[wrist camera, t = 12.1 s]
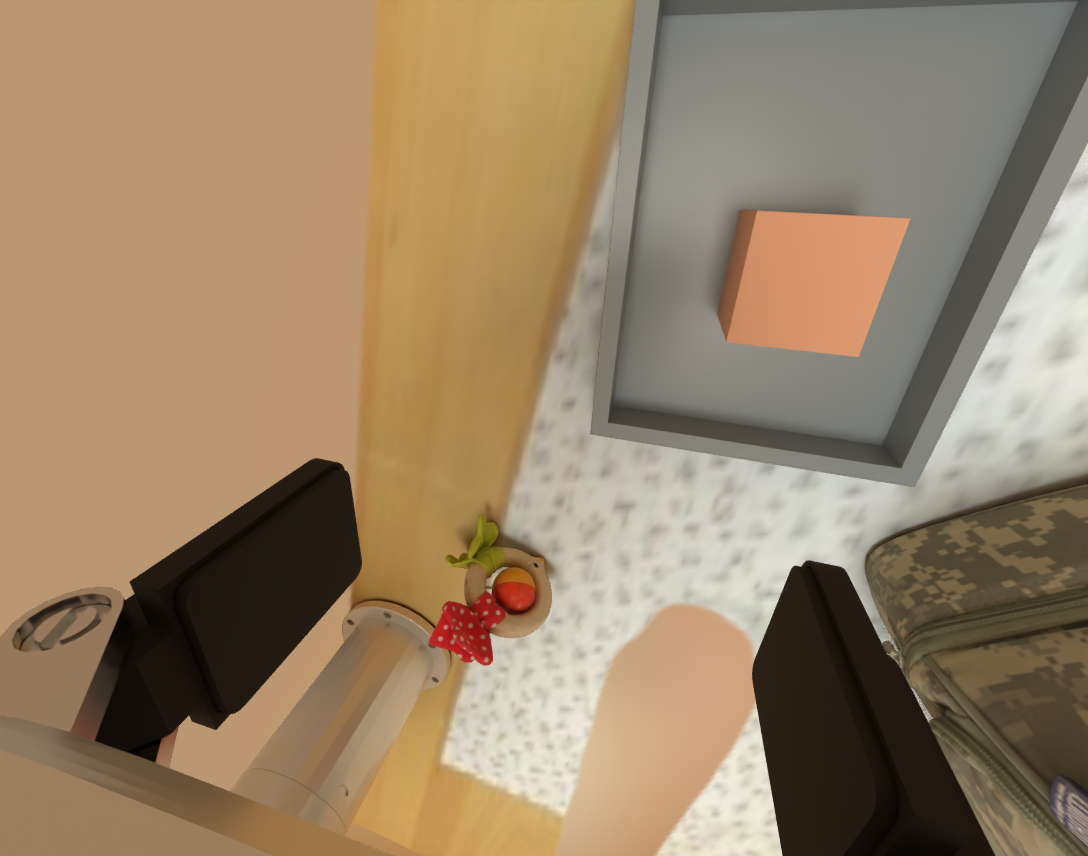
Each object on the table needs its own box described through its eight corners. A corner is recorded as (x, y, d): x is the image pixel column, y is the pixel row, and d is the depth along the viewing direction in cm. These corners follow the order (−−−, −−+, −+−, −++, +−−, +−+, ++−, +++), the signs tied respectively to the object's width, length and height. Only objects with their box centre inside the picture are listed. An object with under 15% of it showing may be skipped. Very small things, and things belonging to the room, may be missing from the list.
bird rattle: (557, 519, 39) (455, 500, 37) (580, 642, 30) (447, 628, 28) (532, 565, 42) (436, 550, 40) (546, 688, 34) (423, 679, 31)
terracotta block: (821, 325, 25) (858, 357, 20) (717, 315, 26) (726, 342, 21) (857, 215, 22) (910, 218, 17) (740, 209, 24) (757, 210, 18)
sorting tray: (889, 456, 28) (914, 487, 25) (598, 412, 32) (590, 434, 29) (1108, -26, 18) (1195, -73, 15) (645, -5, 22) (639, -39, 19)
